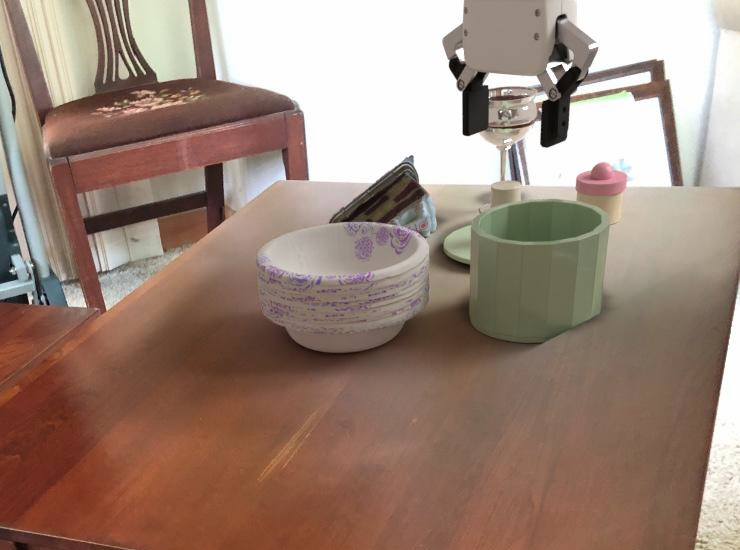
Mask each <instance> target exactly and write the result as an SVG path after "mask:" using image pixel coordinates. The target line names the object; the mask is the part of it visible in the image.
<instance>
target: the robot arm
mask: <svg viewBox="0 0 740 550" xmlns="http://www.w3.org/2000/svg"><path fill="white" fill-rule="evenodd" d="M577 3H578V2H577V0H463V9H462V23H460V24H459V25H458V26H457V27H455V28H454V29H453V30H451V31H450V32H448V34H446V35H445V36H444V37H443V38H442V41H441V43H442V46H443V50H444V52H445V56H446V58H447V60H448V68H449V71H450V72H451V74H452V76H453V77H454V79H455V80H456V82H455V83H456V84H455V85H456V86H455V87H456V89H457V91H458V92H462V93H461V107H462V109H461V114H462V115H461V116H462V117H461V120H462V122H461V123H462V131H461V132H462V135H463V136H464V137H471V136H473V135H474V136H475V135H477V134H479V132H482V131H484V130H486V129H487V128H488V126H489V89H490V88H489V85H488V84H484V83H485V81H486V80H487V78H488V77H489V75H490V74H497V75H508V76H521V77H536V78H537V80H538V81H539V84H540V85H541V88H542V89H543V91H544V93H545V95H546V96H547V99H545V100H543V101H542V103H541V111H540V113H541V114H540V135H539V137H540V138H539V145H540V146H541V148H546V149H547V148H551V147H553V146H556V145H558V144H560V143H563V142H565V141H566V140H567V138H568V131H569V128H570V127H569V126H570V110H571V96H572V95H574V94H576V93H577V91H578V88H579V86H580V85H581V84H582V83H583V82H584V81H585V80H586V78H587V77H588V75H589V69H590V68H591V67H592V65H593V62H594V61H595V58H596V56H597V53H598V52H599V44H598V42H597V41H595V40H594V39H593V38H592V37H590V35H588V34H586V33H585V32H584V31H583V30H582V29H580V28H579V27H578V25H577V23H578V22H577V16H578V14H577V13H578V11H577V9H578V8H577V7H578V6H577ZM570 64H571V65H570ZM568 65H570V67H569V66H568Z"/></svg>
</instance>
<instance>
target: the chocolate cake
mask: <svg viewBox="0 0 740 550" xmlns="http://www.w3.org/2000/svg"><path fill="white" fill-rule="evenodd" d="M414 159H415V157H414V155H413V154H411V155H409V156H406V157H405V158H404V159H403V160H402V161H401V162H399V163H398V164H397V165H395V166H394V167H393V168H391V169H390V170H388V171H387V172H385V173H384V174H383V175H382V176H381V177H380V178H378V179H377V180H376V181H375V182H373V183H372V184H371V185H370V186H368V187H367V188H366V189H365V190H364V191H362V192H361V193H360V194H358V195H357V196H356V197H354V198H353V199H352V201H350V202H349V203H348V204H346V205H345V206H343V207H341V208H340V209H338V210H337V211H336V212H335V213H333V214H332V216H331V217H330V218H329V220H328V222H327V224H331V223H343V222H375V223H385V224H390V225H396V226H400V227H404V228H408V229H410V230H413V231H415V232H417V233H419V234H420V235H422V236H423V237H424V238H428V237H430V236H431V232H435V231H436V229H437V227H438V222H437V216H436V213H437V212H436V207H435V203H434V199H433V198H432V196H431V194H430V193H429V192H428V191H427V190H426V189H425V188H424V187H423V185H421V183H420V178H419V173H418V171H417V169H416V167H415V164H414V162H415V160H414Z"/></svg>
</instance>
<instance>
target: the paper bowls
mask: <svg viewBox="0 0 740 550" xmlns="http://www.w3.org/2000/svg"><path fill="white" fill-rule="evenodd" d="M255 268H256V275H257V289H258V290H257V291H258V296H259V305H260V309H261V312H262V315H264V316H265V317H266V318H267V319H268V320H270V321H271V322H272V323H274V324H276V325H278V326H281V327H282V328H284V329H285V330H286V331H287V333H288V335H289V336H290V338H291V339H292V340H293V341H295V342H296V344H298V345H300V346H302V347H304V348H307V349H309V350H313V351H317V352H322V353H330V354H346V353H347V354H348V353H356V352H363V351H367V350H371V349H374V348H377V347H379V346H382V345H384V344H386V343H388V342H389V341H392V340H393V339H394V338H395V337H396V336H397V335H398V334H399V333H400V331H402V330H403V329H402V328H403V327H404V325H405V323H406V321H409V320H410V319H412V318H414V317H415V316H417V315H418V314H419V313H421V312H422V311H423V310H424V309H425V308H426V306H427V305H428V303H429V302H430V246H429V243H428V241H427V240H426V237H424V236H422V235H421V234H419V233H417V232H415V231H413V230H410V229H408V228H404V227H400V226H396V225H390V224H385V223H375V222H343V223H331V224H328V223H323V224H318V225H317V224H316V225H311V226H307V227H303V228H297V229H295V230H291V231H289V232H286V233H283V234H280V235H278V236H276V237H274V238H272V239H270V240H269V241H267V242H266V243H265V244H263V245H262V246H261V247H260V248H259V250H258V251H257V253H256V257H255Z"/></svg>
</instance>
